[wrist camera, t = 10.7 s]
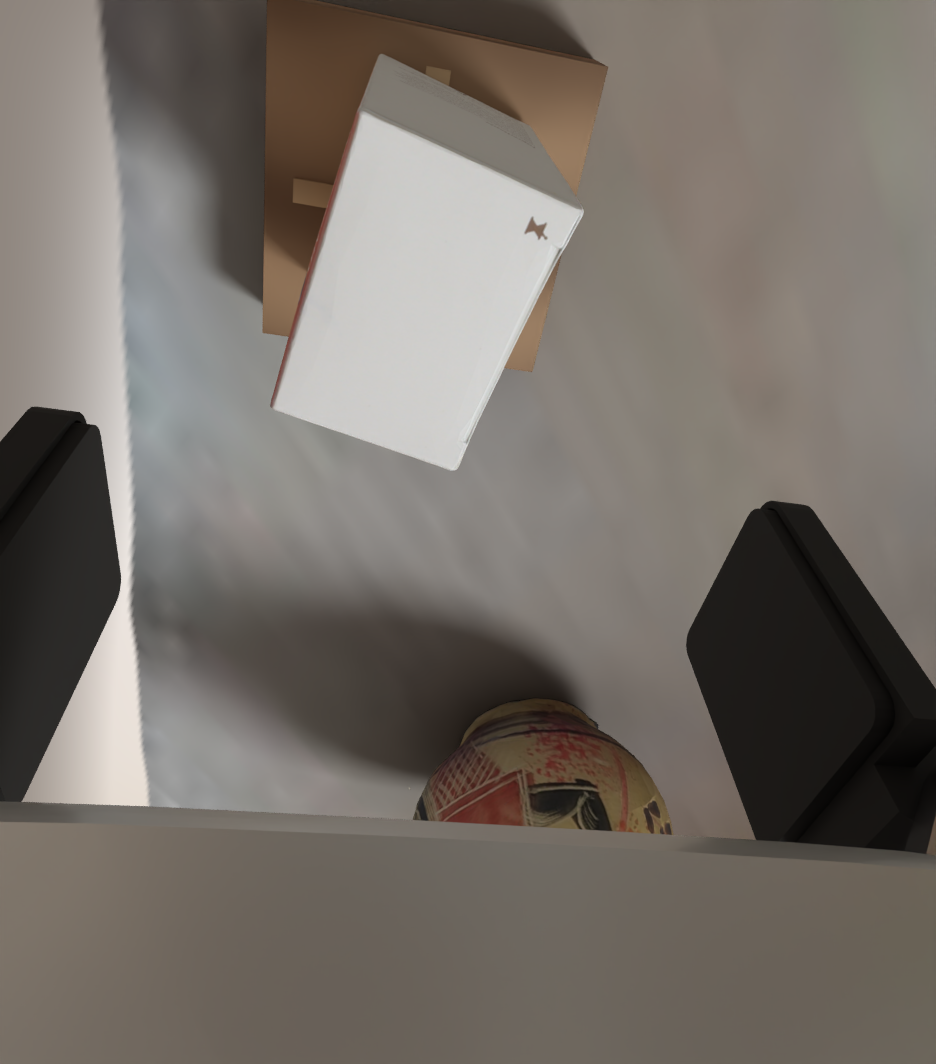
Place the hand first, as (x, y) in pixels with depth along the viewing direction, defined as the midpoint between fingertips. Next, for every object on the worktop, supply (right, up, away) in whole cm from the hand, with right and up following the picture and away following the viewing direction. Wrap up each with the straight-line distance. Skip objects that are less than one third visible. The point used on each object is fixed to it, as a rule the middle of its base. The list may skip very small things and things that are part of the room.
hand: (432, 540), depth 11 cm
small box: (-1, +12, +16) cm, 20 cm away
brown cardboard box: (-1, +13, +18) cm, 22 cm away
